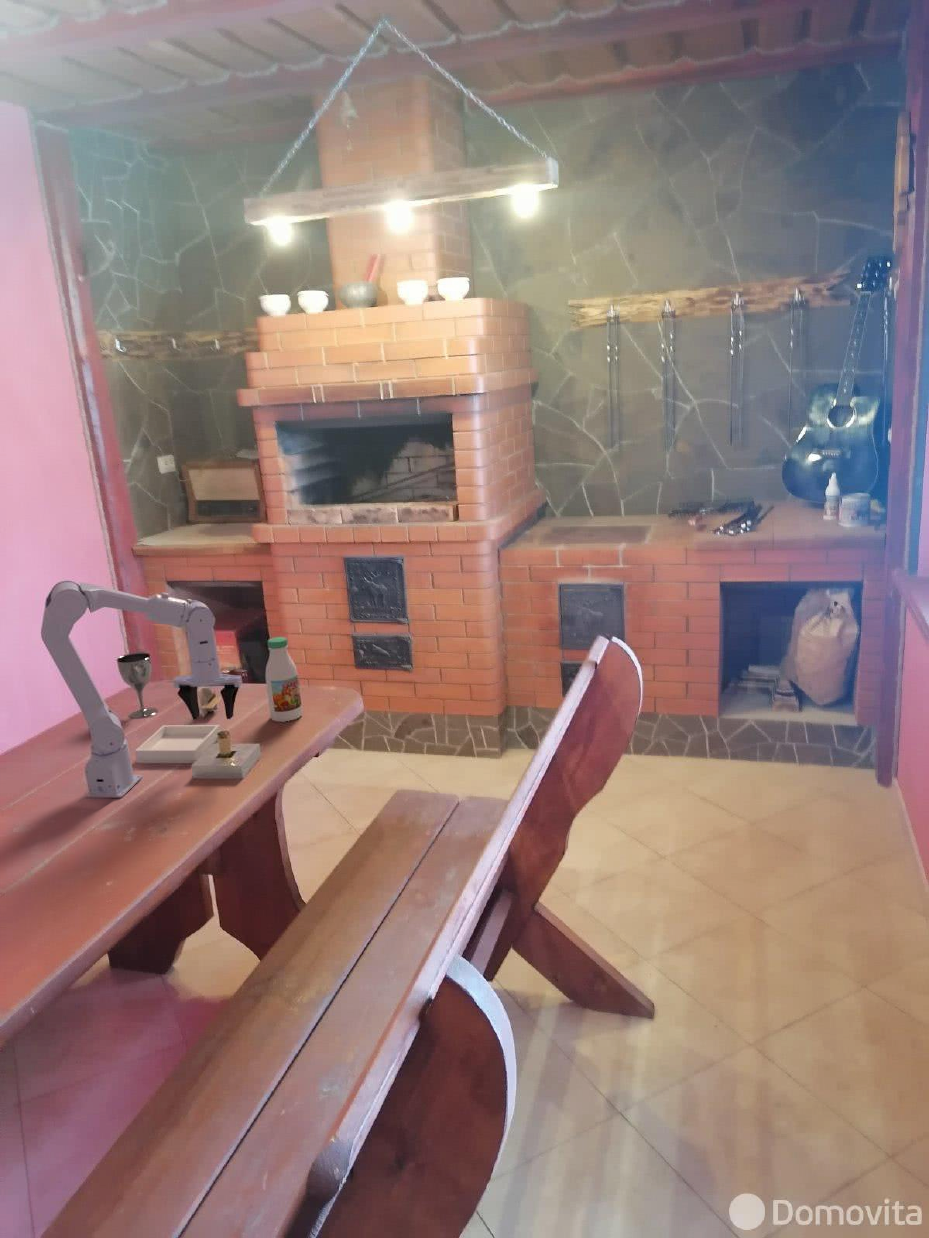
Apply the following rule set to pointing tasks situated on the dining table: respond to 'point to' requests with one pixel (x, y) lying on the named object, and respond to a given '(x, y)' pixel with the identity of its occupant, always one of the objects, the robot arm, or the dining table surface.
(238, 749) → the grey square socket block
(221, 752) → the pin
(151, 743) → the tray
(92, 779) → the robot arm
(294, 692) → the milk bottle
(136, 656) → the wine glass
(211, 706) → the architectural model
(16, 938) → the dining table surface
